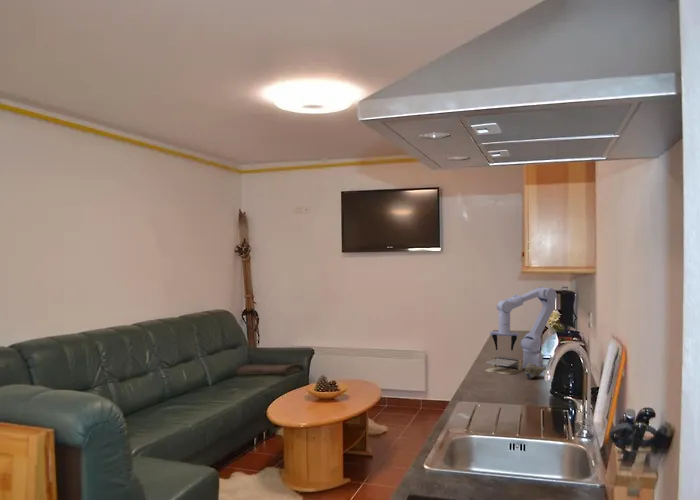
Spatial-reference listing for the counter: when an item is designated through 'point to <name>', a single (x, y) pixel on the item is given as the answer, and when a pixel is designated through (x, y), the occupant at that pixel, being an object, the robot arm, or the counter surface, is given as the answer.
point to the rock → (533, 370)
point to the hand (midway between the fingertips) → (504, 349)
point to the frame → (505, 370)
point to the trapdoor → (505, 361)
